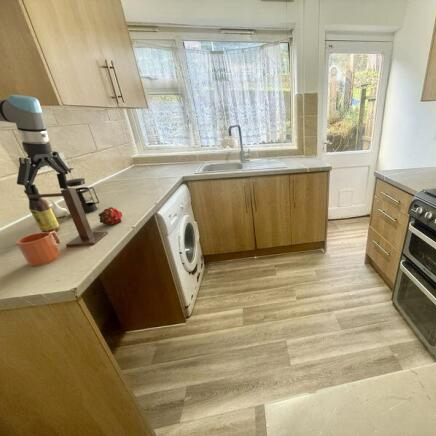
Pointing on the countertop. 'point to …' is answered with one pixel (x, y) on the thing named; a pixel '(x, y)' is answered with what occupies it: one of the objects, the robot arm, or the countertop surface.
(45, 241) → the mug
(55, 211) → the garlic bulb
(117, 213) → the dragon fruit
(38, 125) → the robot arm
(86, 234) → the mug stand
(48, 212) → the sauce bottle
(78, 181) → the french press
